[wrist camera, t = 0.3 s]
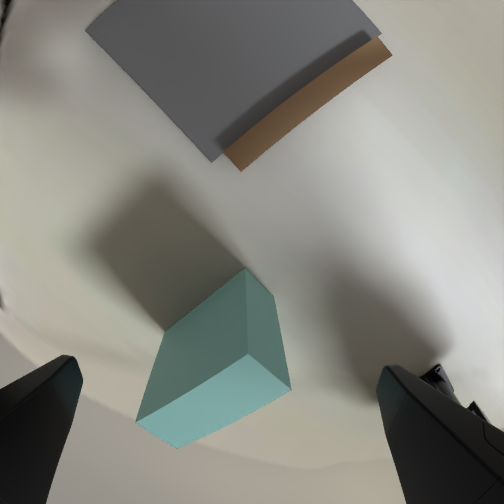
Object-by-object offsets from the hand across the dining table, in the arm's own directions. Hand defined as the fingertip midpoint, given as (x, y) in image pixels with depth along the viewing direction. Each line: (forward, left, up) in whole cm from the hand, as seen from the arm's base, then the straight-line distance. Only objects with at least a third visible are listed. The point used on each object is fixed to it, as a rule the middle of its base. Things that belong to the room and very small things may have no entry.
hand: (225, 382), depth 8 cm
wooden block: (+4, -9, -13) cm, 16 cm away
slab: (-4, +5, -13) cm, 14 cm away
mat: (+11, -9, -13) cm, 19 cm away
